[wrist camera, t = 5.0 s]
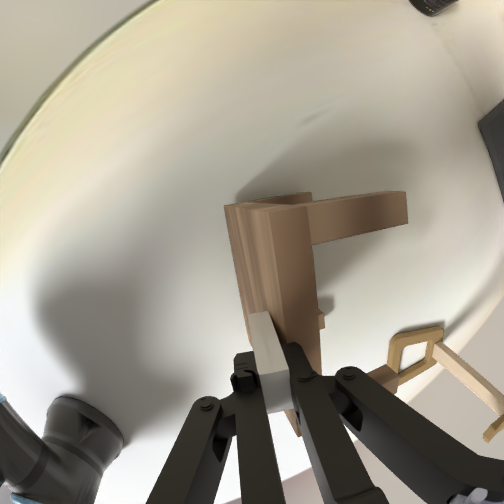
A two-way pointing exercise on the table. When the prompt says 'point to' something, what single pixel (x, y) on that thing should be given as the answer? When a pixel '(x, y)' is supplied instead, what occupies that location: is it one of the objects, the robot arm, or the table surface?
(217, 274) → the table surface
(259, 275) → the stool
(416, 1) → the supplement bottle
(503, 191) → the computer monitor
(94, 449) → the robot arm
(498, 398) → the headphone stand
